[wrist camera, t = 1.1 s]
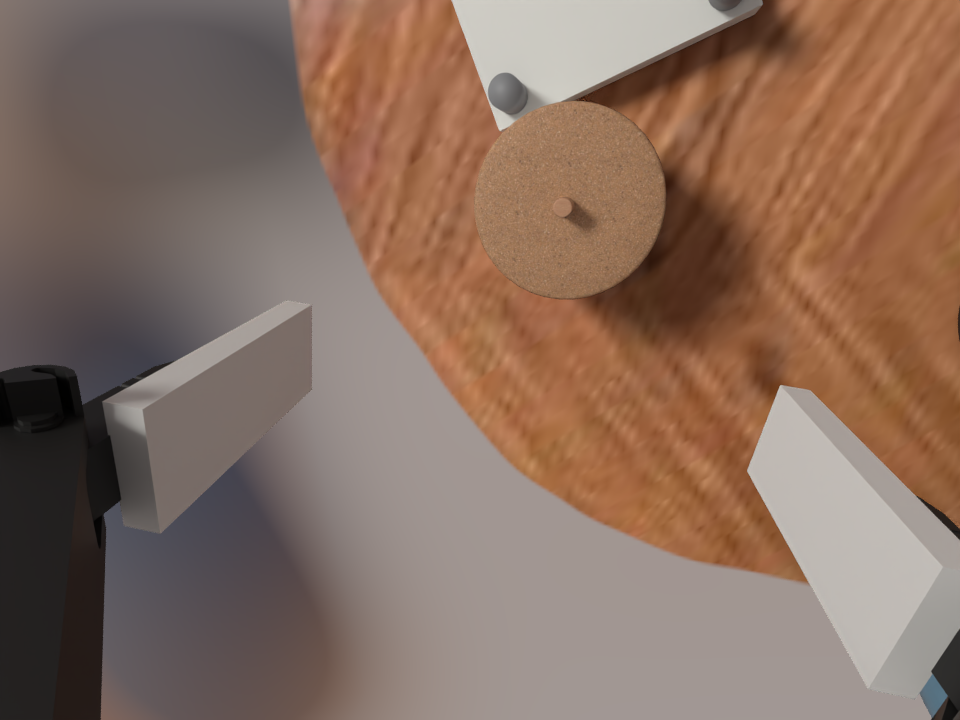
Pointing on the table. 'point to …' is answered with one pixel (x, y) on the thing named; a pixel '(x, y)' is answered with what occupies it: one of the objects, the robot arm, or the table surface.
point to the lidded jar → (570, 200)
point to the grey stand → (579, 43)
